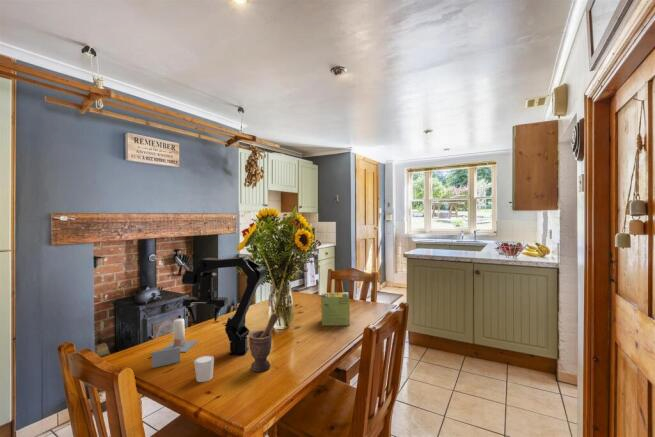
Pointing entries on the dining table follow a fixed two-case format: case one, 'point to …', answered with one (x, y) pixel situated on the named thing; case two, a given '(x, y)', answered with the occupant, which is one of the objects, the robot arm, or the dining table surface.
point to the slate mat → (183, 349)
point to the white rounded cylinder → (179, 333)
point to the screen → (165, 357)
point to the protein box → (335, 308)
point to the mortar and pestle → (262, 346)
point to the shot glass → (204, 368)
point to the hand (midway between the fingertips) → (205, 320)
